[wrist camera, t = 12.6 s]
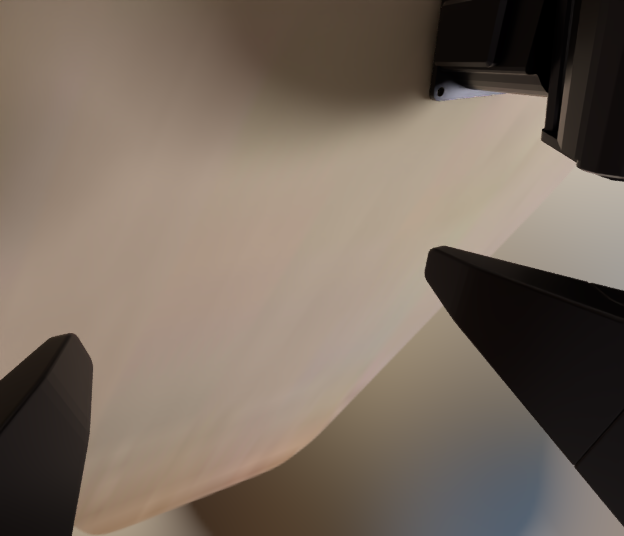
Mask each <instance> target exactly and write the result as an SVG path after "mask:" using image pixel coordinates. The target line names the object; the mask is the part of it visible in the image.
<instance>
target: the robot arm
mask: <svg viewBox="0 0 624 536" xmlns="http://www.w3.org/2000/svg"><path fill="white" fill-rule="evenodd" d="M439 88H440V93H439V94H438V95H437V91H438V89H439ZM505 93H511V94H521V95H531V96H540V97H548V98H547V108H546V118H545V128H544V129H542V136H541V141H543V142H544V143H546V144H547V145H549V146H551V147H552V148H554V149H556V150H557V151H559V152H560V153H562V154H564V155H565V156H567V157H568V158H570V159H572V160H573V161H575V162H577V164H576V166H577V167H578V168H579V169H581V170H583V171H586V172H589V173H593V174H596V175H599V176H601V177H604V178H607V179H610V180H615V181H623V182H624V0H442V5H441V12H440V19H439V26H438V34H437V41H436V48H435V55H434V63H433V71H432V78H431V85H430V98H431V99H432V100H435V101H445V100H453V99H462V98H471V97H479V96H488V95H496V94H505ZM425 278H426V280H427V282H428V283H429V285H430V286H431V288H432V289H433V291H434V292H435V294H436V295H437V297H438V298H439V300H440V301H441V303H442V304H443V306H444V307H445V308H446V310H447V312H448V313H449V314H450V316H451V317H452V319H453V320H454V321H455V323H456V324H457V325H458V327H459V328H460V329H461V330H462V331H463V333H464V334H465V335H466V336H467V337H468V339H469V340H470V341H471V342H472V343H473V345H474V346H475V347H476V348H477V350H478V351H479V352H480V353H481V354H482V356H483V357H484V358H485V359H486V360H487V362H488V363H489V364H490V365H491V367H492V368H493V369H494V370H495V371H496V373H497V374H498V375H499V376H500V377H501V379H502V380H503V381H504V382H505V383H506V385H507V386H508V387H509V388H510V389H511V391H512V392H513V393H514V394H515V396H516V397H517V398H518V399H519V400H520V402H521V403H522V404H523V405H524V406H525V408H526V409H527V410H528V411H529V412H530V414H531V415H532V416H533V417H534V418H535V420H536V421H537V422H538V423H539V425H540V426H541V427H542V428H543V429H544V430H545V432H546V433H547V434H548V435H549V437H550V438H551V439H552V440H553V441H554V443H555V444H556V445H557V446H558V448H559V449H560V450H561V451H562V452H563V454H564V455H565V456H566V457H567V458H568V460H569V461H570V462H571V463H572V464H573V465H574V467H575V469H576V470H577V471H578V472H579V473H580V475H581V476H582V477H583V478H584V479H585V481H587V483H588V484H589V485H590V487H591V488H592V489H593V490H594V491H595V493H596V494H597V495H598V496H599V498H600V499H601V500H602V501H603V502H604V504H605V505H606V506H607V507H608V508H609V510H610V511H611V512H612V513H613V515H614V516H615V517H616V518H617V519H618V521H619V522H620V523H621V524H622V525H623V526H624V291H623V290H619V289H615V288H610V287H607V286H603V285H599V284H595V283H588V282H587V281H583V280H579V279H575V278H571V277H567V276H562V275H559V274H555V273H551V272H547V271H543V270H539V269H535V268H531V267H527V266H523V265H519V264H515V263H511V262H507V261H503V260H499V259H495V258H492V257H488V256H484V255H480V254H476V253H472V252H468V251H464V250H460V249H456V248H452V247H448V246H439V247H435V248H432V249H430V251H429V253H428V257H427V262H426V267H425ZM92 379H93V364H92V360H91V358H90V356H89V354H88V353H87V351H86V349H85V348H84V346H83V345H82V343H81V341H80V340H79V338H78V337H77V336H76V335H75V334H73V333H68V334H63V335H59V336H55V337H51V338H49V339H48V340H47V341H45V342H44V343H43V344H42V345H41V346H40V347H38V348H37V349H36V350H35V351H34V352H33V353H32V354H30V355H29V356H28V357H27V358H26V359H25V360H23V361H22V362H21V363H20V364H19V365H18V366H16V367H15V368H14V369H13V370H12V371H11V372H9V373H8V374H7V375H6V376H5V377H4V378H3V379H1V380H0V536H72V532H73V526H74V520H75V515H76V509H77V503H78V498H79V492H80V487H81V481H82V475H83V470H84V464H85V459H86V453H87V447H88V441H89V434H90V421H91V400H92Z"/></svg>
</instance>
